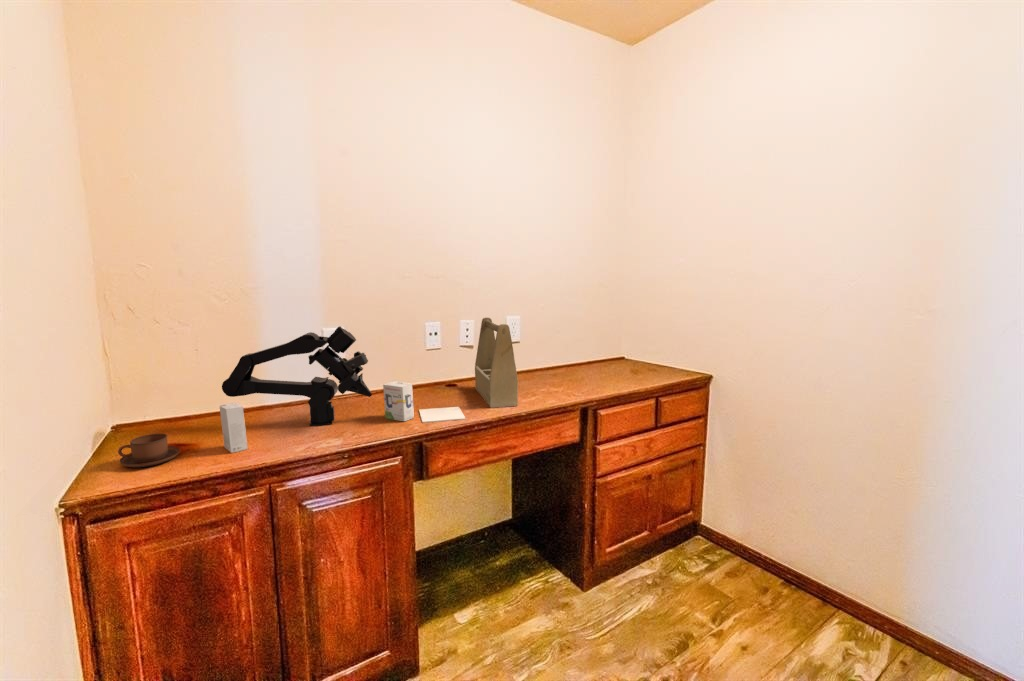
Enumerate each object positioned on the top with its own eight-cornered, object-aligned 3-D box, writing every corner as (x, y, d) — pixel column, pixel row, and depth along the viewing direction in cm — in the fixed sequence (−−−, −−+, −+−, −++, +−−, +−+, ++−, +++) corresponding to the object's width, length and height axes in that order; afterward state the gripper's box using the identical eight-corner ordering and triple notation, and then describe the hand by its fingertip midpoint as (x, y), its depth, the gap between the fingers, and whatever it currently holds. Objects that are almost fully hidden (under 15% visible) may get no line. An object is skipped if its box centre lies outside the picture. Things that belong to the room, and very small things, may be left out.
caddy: (474, 389, 193) (473, 317, 189) (499, 387, 196) (499, 316, 191) (489, 408, 165) (489, 324, 161) (518, 406, 168) (518, 323, 163)
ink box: (414, 418, 153) (413, 383, 152) (404, 422, 149) (402, 386, 147) (394, 414, 157) (393, 380, 156) (383, 418, 153) (382, 383, 151)
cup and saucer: (126, 476, 109) (123, 451, 108) (116, 462, 117) (113, 439, 116) (186, 460, 118) (184, 437, 117) (173, 449, 126) (170, 427, 125)
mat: (422, 422, 148) (422, 421, 148) (418, 410, 162) (418, 409, 162) (465, 419, 152) (465, 418, 152) (458, 407, 165) (458, 406, 165)
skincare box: (248, 449, 126) (245, 406, 124) (229, 454, 122) (226, 409, 121) (240, 443, 130) (237, 401, 128) (222, 448, 126) (218, 405, 125)
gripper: (347, 349, 138) (386, 384, 142) (355, 341, 156) (390, 371, 160) (320, 376, 138) (361, 410, 141) (331, 364, 156) (367, 395, 159)
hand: (371, 395), depth 150 cm, fingers closed
